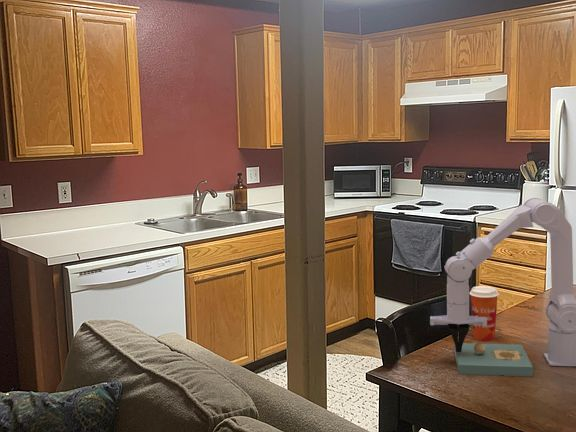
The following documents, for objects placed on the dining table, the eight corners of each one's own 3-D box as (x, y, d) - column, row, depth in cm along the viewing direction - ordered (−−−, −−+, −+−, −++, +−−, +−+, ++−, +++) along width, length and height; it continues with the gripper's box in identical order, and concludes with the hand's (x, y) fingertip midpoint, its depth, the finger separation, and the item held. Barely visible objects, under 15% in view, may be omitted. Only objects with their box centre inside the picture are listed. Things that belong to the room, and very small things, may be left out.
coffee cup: (468, 341, 181) (467, 291, 179) (471, 332, 189) (470, 284, 187) (498, 343, 178) (498, 293, 176) (499, 334, 186) (500, 286, 184)
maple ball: (484, 352, 166) (484, 341, 165) (486, 356, 163) (486, 345, 162) (473, 351, 166) (473, 341, 166) (474, 356, 163) (474, 345, 163)
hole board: (521, 353, 170) (521, 344, 170) (532, 376, 155) (532, 367, 154) (454, 351, 174) (454, 343, 173) (458, 374, 158) (458, 364, 158)
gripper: (484, 297, 166) (484, 346, 168) (429, 297, 169) (430, 344, 171) (487, 305, 159) (488, 355, 161) (430, 304, 162) (431, 354, 164)
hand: (458, 350), depth 165 cm, fingers closed
